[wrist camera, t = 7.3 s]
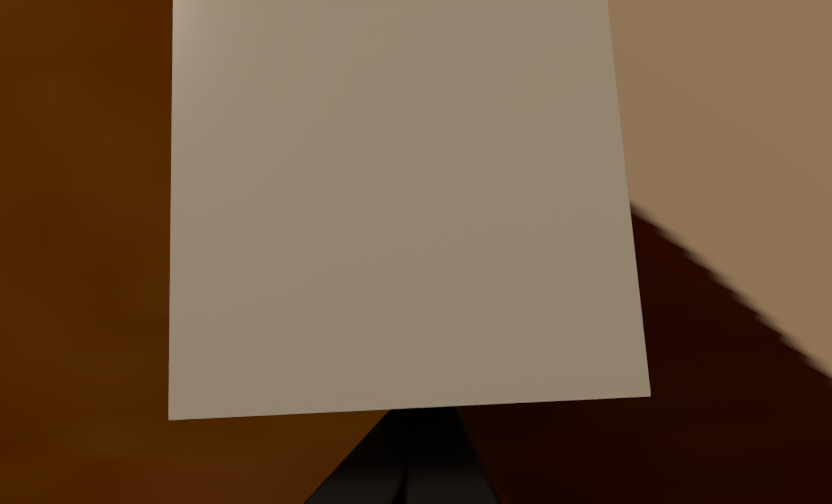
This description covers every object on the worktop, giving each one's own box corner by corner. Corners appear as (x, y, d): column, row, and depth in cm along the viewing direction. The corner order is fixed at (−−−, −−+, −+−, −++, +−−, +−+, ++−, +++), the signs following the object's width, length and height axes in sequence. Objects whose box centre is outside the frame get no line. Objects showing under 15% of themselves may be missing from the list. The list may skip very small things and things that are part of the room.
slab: (599, 389, 13) (650, 396, 7) (327, 403, 14) (168, 419, 8) (568, 73, 14) (589, -150, 8) (318, 102, 15) (173, -81, 9)
